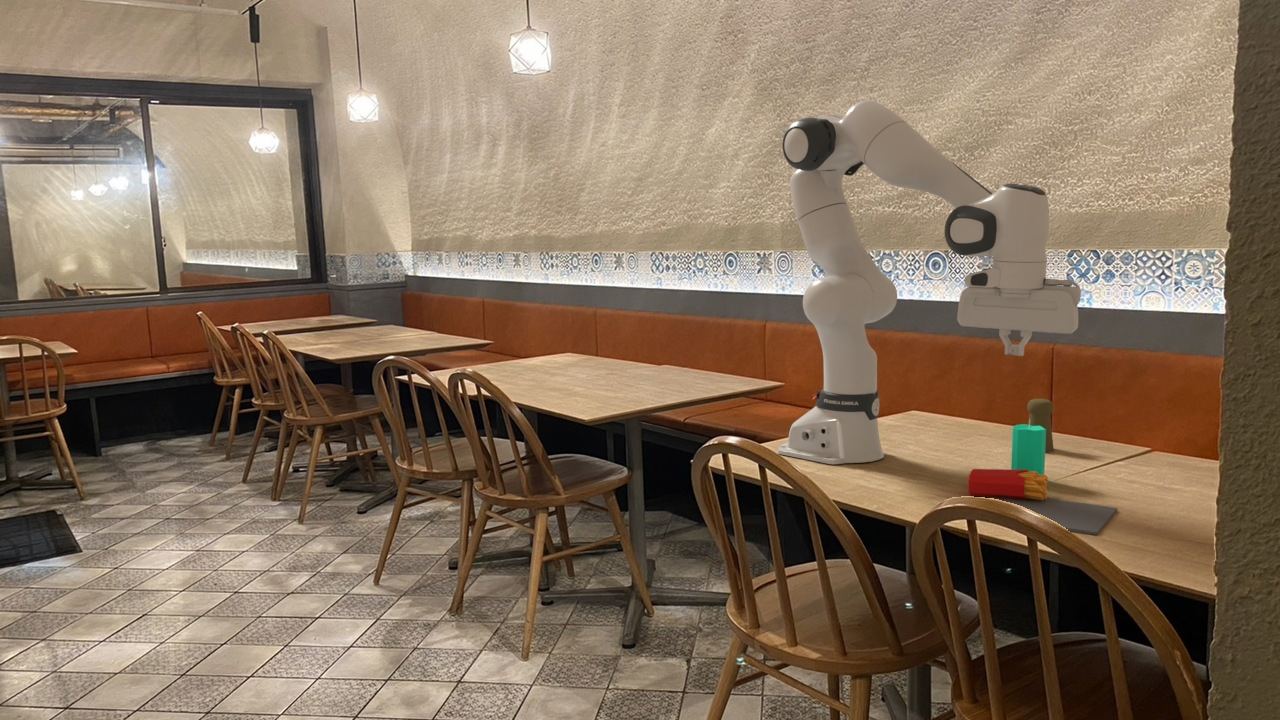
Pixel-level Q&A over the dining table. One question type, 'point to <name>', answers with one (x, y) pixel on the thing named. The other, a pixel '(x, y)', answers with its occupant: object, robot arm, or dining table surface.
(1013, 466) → the candle
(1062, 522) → the mat
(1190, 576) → the dining table surface
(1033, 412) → the cork
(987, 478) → the french fries
